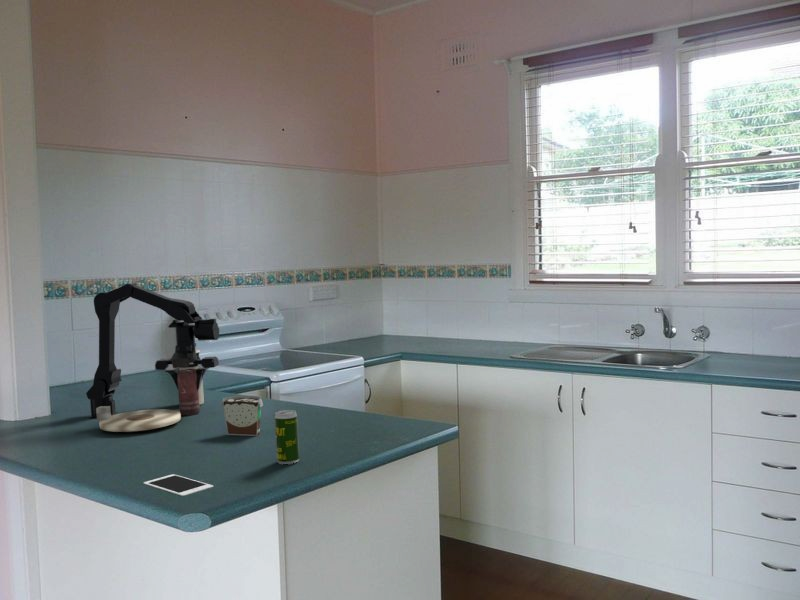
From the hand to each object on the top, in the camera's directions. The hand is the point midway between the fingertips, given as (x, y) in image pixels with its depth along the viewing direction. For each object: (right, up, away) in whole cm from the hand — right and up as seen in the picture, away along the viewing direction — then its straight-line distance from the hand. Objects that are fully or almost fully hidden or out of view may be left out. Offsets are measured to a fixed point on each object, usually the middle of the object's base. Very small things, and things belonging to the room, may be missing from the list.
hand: (188, 390), depth 251 cm
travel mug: (-3, -7, +16) cm, 17 cm away
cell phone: (+18, -13, -77) cm, 80 cm away
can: (0, -8, +1) cm, 8 cm away
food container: (+24, -9, -29) cm, 39 cm away
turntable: (-11, -8, -15) cm, 20 cm away
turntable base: (-10, -9, -15) cm, 20 cm away
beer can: (+40, -10, -62) cm, 74 cm away
